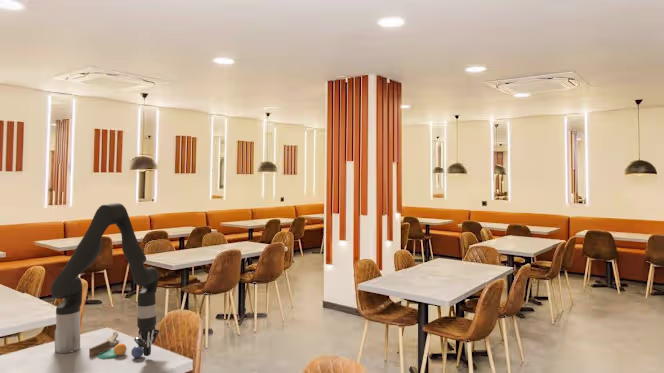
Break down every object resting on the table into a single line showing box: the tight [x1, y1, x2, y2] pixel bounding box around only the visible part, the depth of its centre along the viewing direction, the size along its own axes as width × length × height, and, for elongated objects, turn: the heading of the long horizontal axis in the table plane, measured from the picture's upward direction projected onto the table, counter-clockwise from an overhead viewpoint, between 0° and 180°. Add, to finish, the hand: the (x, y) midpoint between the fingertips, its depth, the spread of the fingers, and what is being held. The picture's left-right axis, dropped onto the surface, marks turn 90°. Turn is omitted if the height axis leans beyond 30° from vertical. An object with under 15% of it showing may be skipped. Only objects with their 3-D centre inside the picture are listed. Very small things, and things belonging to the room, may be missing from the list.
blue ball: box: [130, 345, 144, 359], centre depth 185 cm, size 5×5×5 cm
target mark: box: [97, 348, 126, 360], centre depth 189 cm, size 11×11×1 cm
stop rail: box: [88, 340, 111, 358], centre depth 191 cm, size 1×10×4 cm, turn 163°
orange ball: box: [113, 342, 128, 357], centre depth 187 cm, size 5×5×5 cm
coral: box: [106, 331, 119, 348], centre depth 201 cm, size 6×10×4 cm, turn 20°
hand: (147, 355), depth 183 cm, fingers closed
